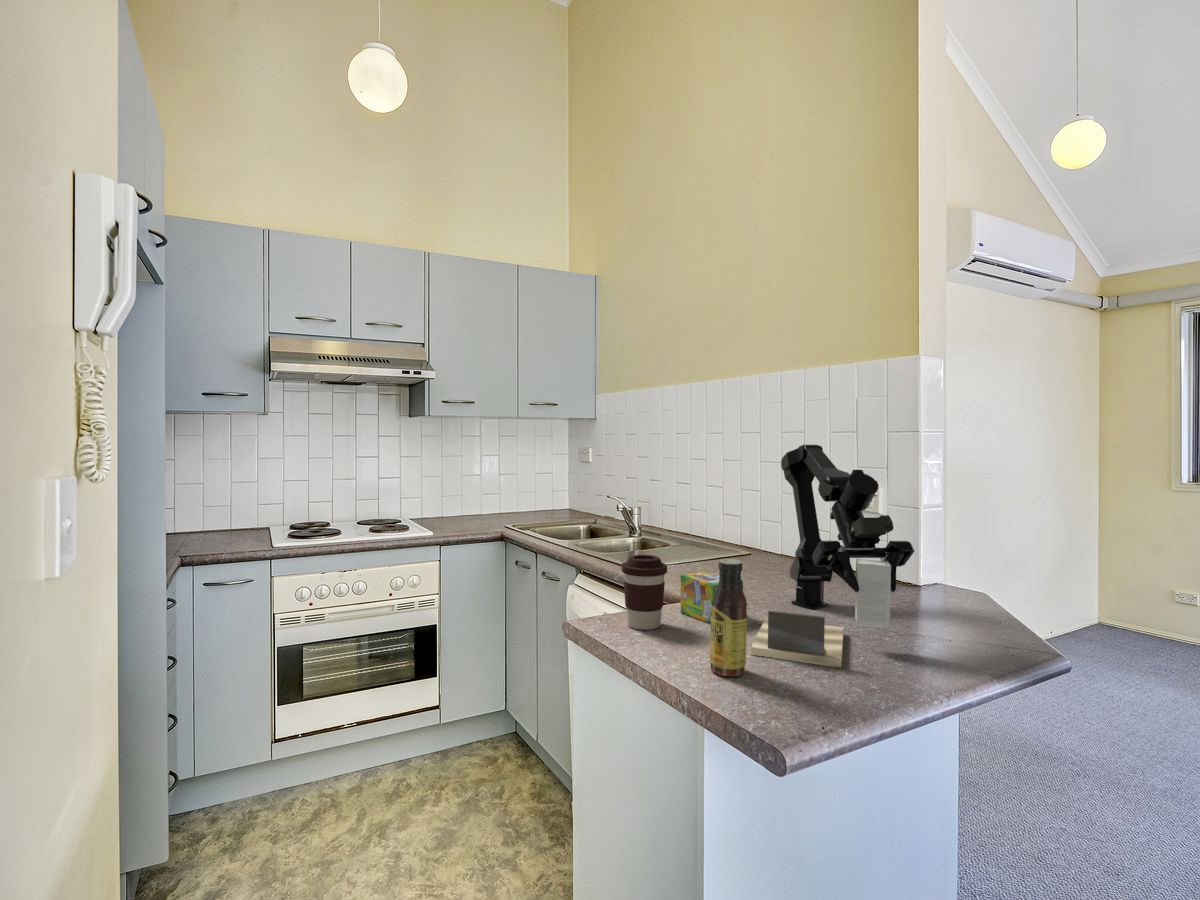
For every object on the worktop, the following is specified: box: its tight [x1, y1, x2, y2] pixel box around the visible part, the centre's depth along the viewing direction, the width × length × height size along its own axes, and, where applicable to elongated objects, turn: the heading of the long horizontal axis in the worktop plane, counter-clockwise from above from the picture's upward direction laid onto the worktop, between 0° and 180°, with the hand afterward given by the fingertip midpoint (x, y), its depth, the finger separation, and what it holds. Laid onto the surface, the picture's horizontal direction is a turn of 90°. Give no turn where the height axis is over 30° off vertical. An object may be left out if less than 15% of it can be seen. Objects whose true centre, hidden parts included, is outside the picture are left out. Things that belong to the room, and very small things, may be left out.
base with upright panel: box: [750, 610, 844, 669], centre depth 123 cm, size 20×16×8 cm
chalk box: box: [680, 570, 744, 625], centre depth 140 cm, size 9×9×15 cm
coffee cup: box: [621, 554, 668, 631], centre depth 134 cm, size 10×10×15 cm
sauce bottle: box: [709, 558, 748, 678], centre depth 108 cm, size 7×6×20 cm
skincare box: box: [854, 558, 892, 628], centre depth 120 cm, size 6×4×12 cm
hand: (875, 590), depth 118 cm, fingers closed on skincare box, 7 cm apart
